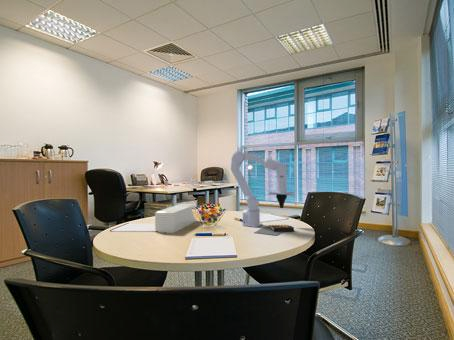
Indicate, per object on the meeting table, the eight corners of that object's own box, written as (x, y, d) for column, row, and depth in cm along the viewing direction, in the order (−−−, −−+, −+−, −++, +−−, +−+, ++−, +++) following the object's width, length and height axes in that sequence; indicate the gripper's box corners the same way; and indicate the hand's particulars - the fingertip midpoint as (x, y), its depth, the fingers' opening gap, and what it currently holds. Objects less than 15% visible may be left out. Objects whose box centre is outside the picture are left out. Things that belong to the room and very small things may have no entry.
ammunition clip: (274, 228, 134) (267, 223, 145) (274, 231, 133) (267, 227, 145) (293, 227, 135) (285, 223, 147) (293, 230, 135) (285, 226, 147)
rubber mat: (254, 233, 133) (254, 232, 133) (265, 226, 147) (265, 226, 147) (276, 235, 127) (276, 235, 127) (286, 228, 141) (286, 228, 141)
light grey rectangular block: (180, 220, 168) (180, 203, 168) (196, 221, 166) (196, 204, 165) (155, 232, 137) (154, 212, 137) (173, 233, 135) (173, 212, 134)
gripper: (266, 184, 148) (267, 207, 148) (292, 184, 141) (292, 209, 141) (271, 183, 154) (271, 206, 154) (295, 184, 147) (295, 207, 147)
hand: (281, 207), depth 148 cm, fingers closed
